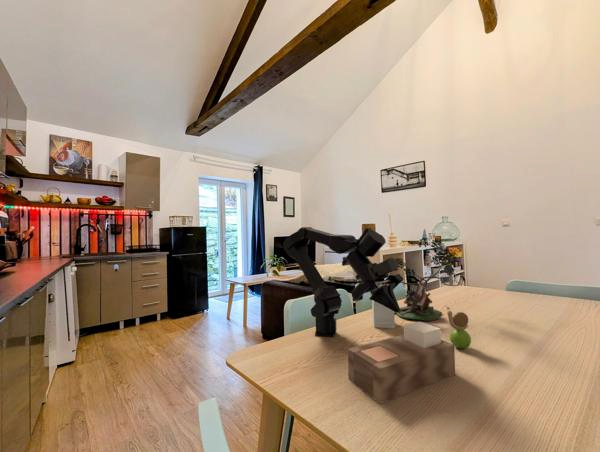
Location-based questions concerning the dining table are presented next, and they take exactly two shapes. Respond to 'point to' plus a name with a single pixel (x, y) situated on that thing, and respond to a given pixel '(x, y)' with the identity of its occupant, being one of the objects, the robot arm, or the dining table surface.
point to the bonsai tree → (420, 301)
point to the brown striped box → (400, 367)
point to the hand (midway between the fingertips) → (398, 311)
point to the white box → (422, 334)
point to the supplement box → (382, 316)
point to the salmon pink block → (379, 354)
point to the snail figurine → (459, 329)
